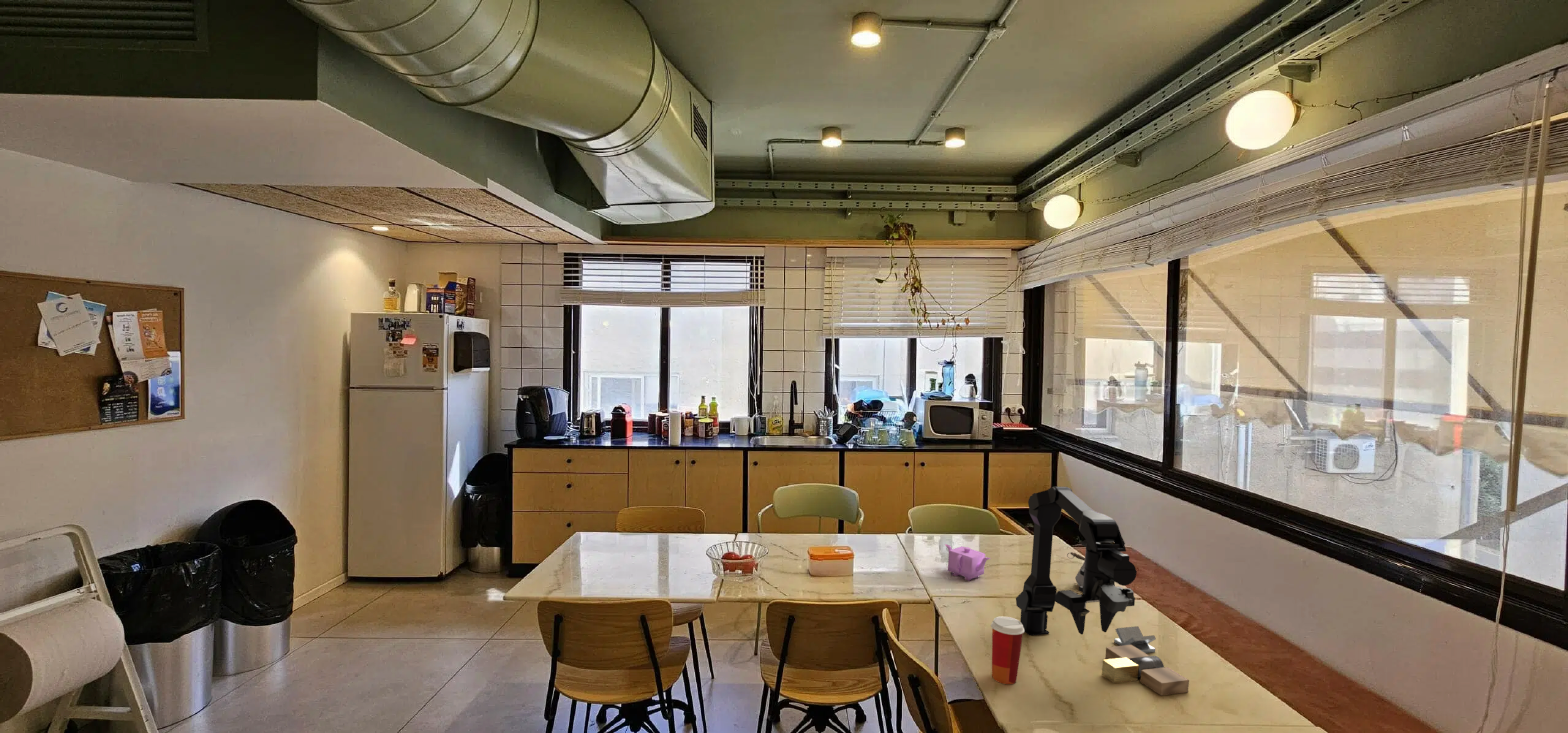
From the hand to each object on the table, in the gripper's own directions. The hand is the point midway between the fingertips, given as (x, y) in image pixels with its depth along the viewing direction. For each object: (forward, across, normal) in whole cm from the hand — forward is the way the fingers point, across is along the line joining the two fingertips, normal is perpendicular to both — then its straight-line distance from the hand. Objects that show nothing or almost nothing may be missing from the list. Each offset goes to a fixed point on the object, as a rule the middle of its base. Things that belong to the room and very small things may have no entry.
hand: (1092, 632), depth 163 cm
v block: (+12, +26, +13) cm, 31 cm away
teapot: (+12, +8, +69) cm, 70 cm away
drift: (+12, +9, 0) cm, 15 cm away
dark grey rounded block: (+12, +17, 0) cm, 21 cm away
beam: (+12, +17, 0) cm, 20 cm away
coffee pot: (+12, +40, +49) cm, 64 cm away
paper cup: (+12, -20, +5) cm, 24 cm away
